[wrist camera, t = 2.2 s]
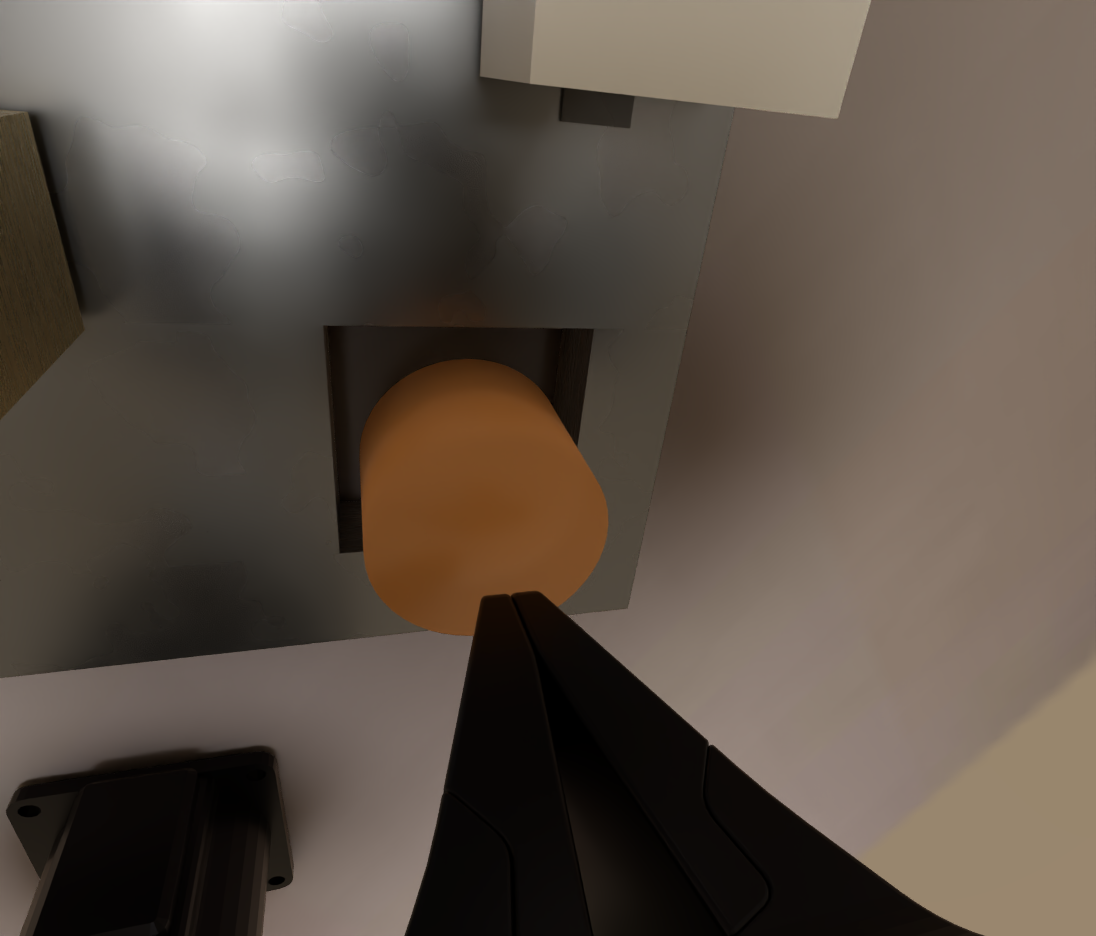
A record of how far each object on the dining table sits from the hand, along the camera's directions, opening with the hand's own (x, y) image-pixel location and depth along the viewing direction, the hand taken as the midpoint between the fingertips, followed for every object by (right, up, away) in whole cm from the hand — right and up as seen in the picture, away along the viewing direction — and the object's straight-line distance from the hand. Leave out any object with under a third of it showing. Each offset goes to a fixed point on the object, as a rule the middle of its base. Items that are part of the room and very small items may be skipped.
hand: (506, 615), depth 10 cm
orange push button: (-1, +2, +4) cm, 5 cm away
